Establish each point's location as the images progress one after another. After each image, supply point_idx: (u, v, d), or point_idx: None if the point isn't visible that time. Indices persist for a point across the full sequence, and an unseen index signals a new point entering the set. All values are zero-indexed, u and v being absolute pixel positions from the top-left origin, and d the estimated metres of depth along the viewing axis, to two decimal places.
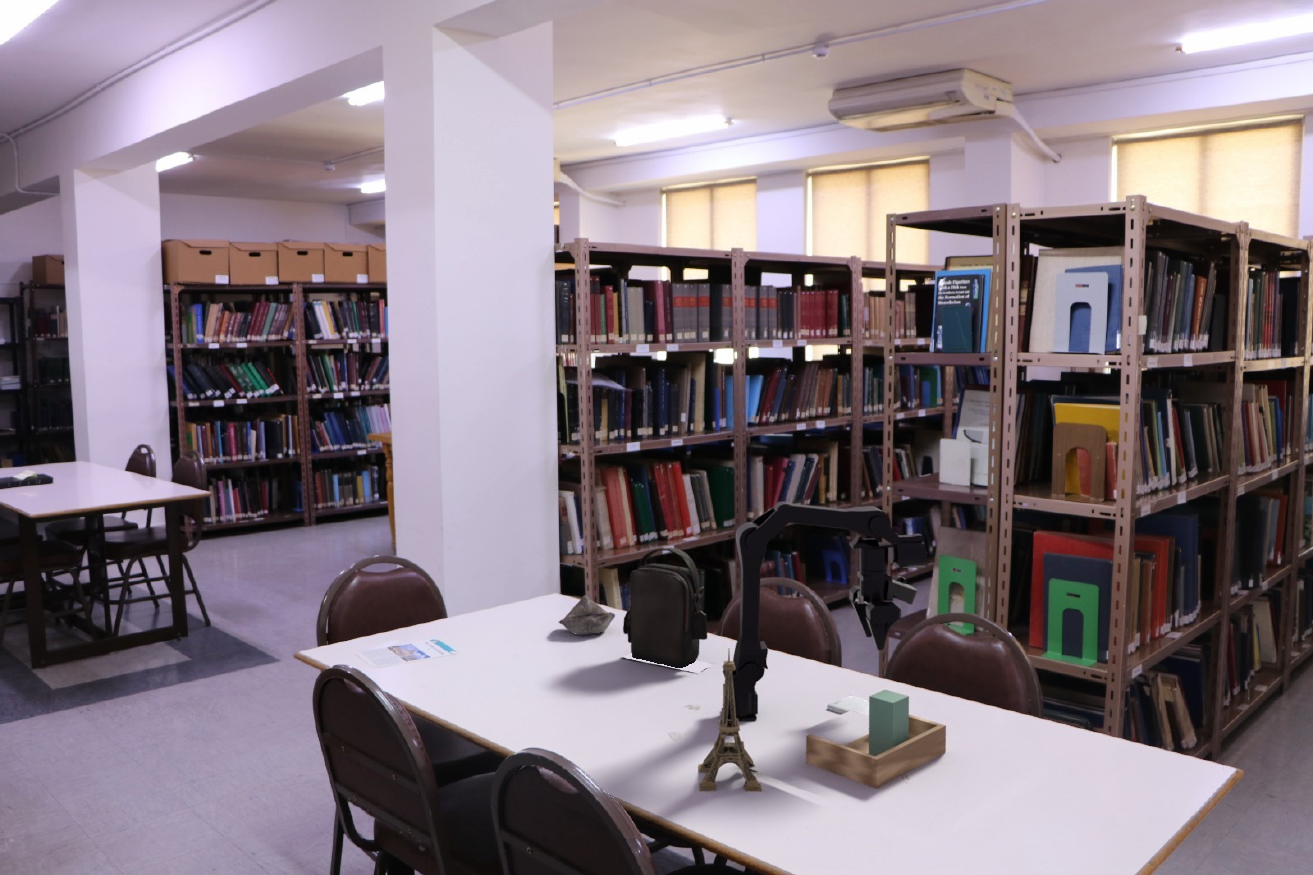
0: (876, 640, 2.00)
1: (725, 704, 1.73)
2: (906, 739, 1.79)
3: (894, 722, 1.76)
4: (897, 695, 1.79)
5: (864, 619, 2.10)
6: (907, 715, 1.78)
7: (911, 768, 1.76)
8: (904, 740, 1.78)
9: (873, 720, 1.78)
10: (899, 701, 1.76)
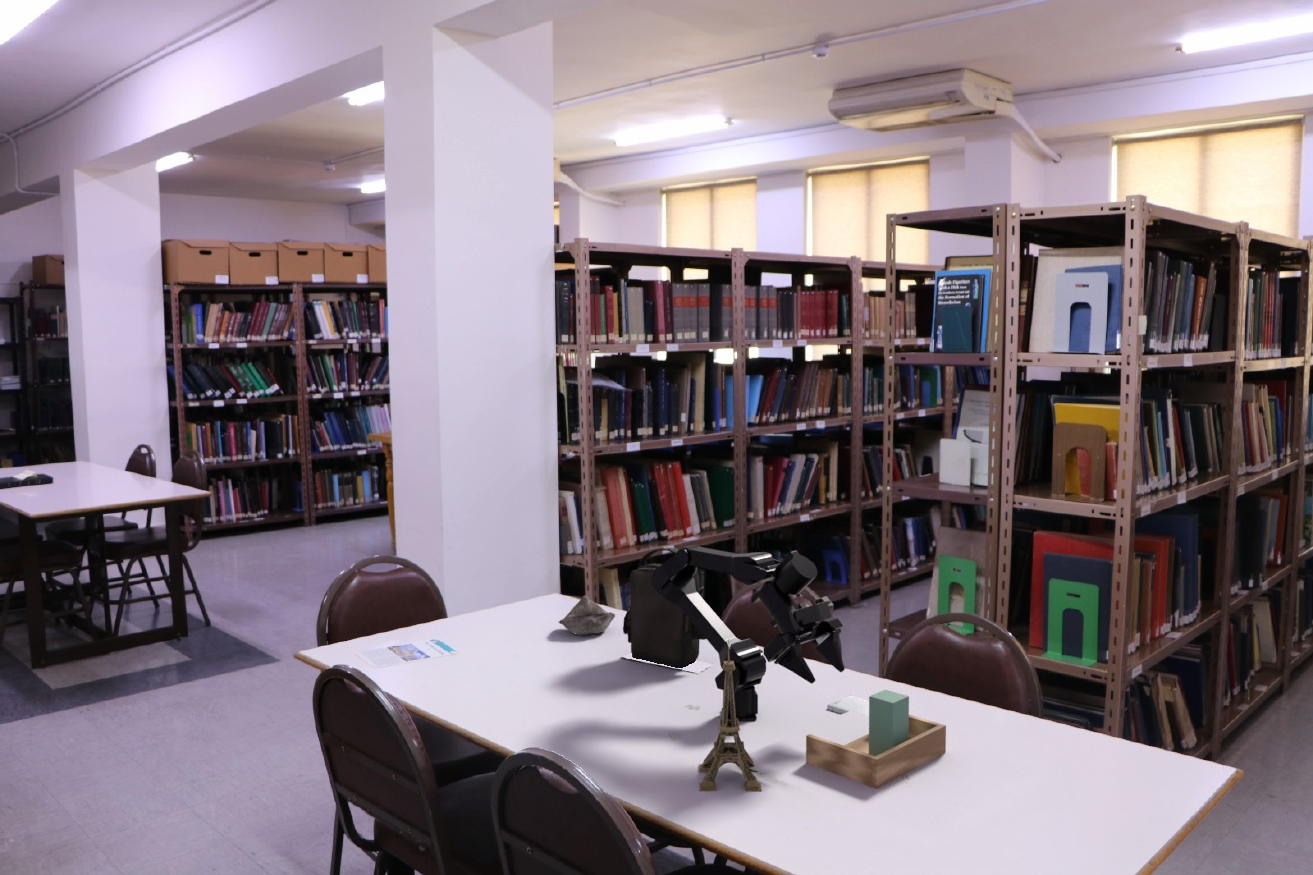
0: (801, 675, 1.86)
1: (725, 704, 1.73)
2: (906, 739, 1.79)
3: (894, 722, 1.76)
4: (897, 695, 1.79)
5: (829, 656, 1.94)
6: (907, 715, 1.78)
7: (911, 768, 1.76)
8: (904, 740, 1.78)
9: (873, 720, 1.78)
10: (899, 701, 1.76)
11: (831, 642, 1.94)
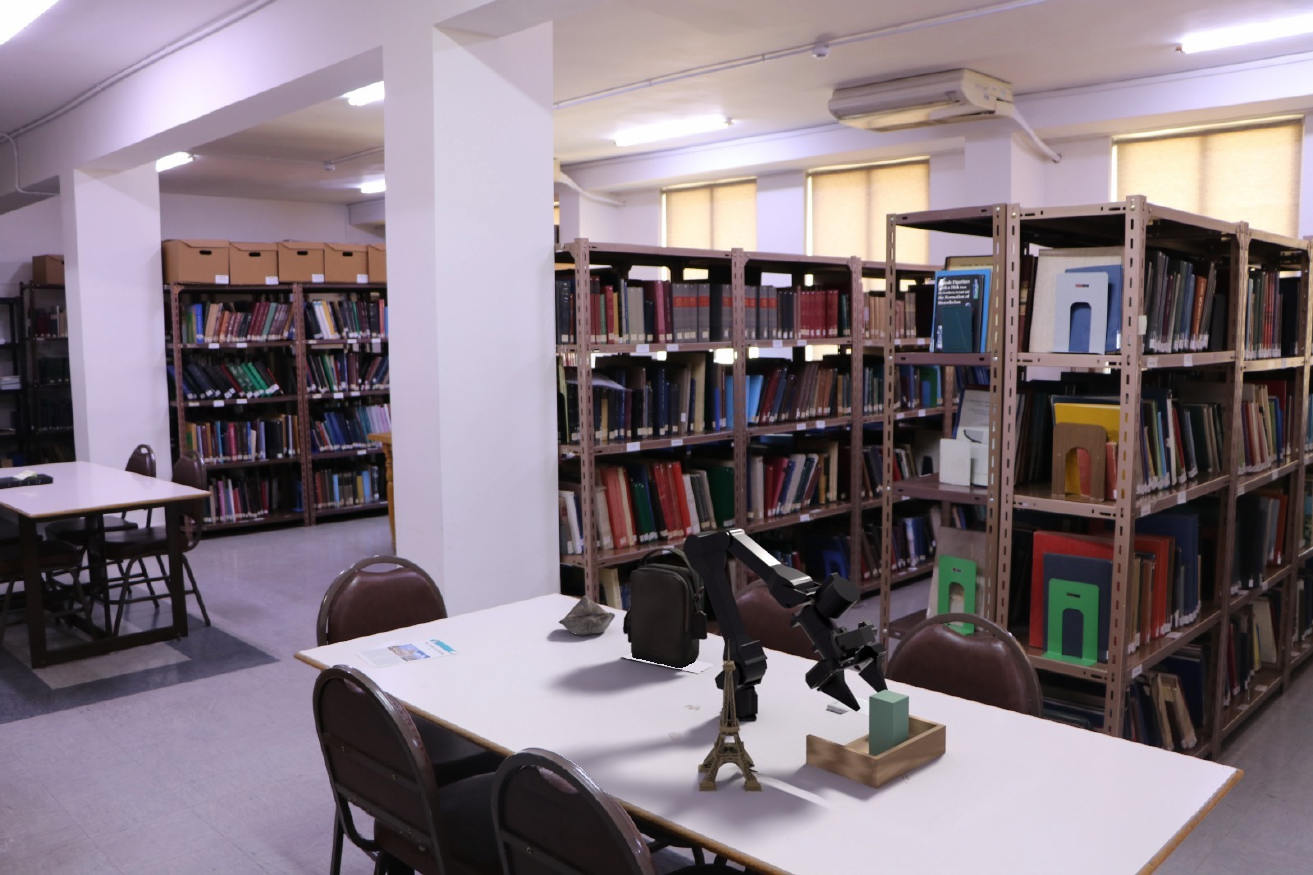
0: (845, 703, 1.79)
1: (725, 704, 1.73)
2: (906, 739, 1.79)
3: (894, 722, 1.76)
4: (897, 695, 1.79)
5: (872, 682, 1.87)
6: (907, 715, 1.78)
7: (911, 768, 1.76)
8: (904, 740, 1.78)
9: (873, 720, 1.78)
10: (899, 701, 1.76)
11: (875, 667, 1.86)
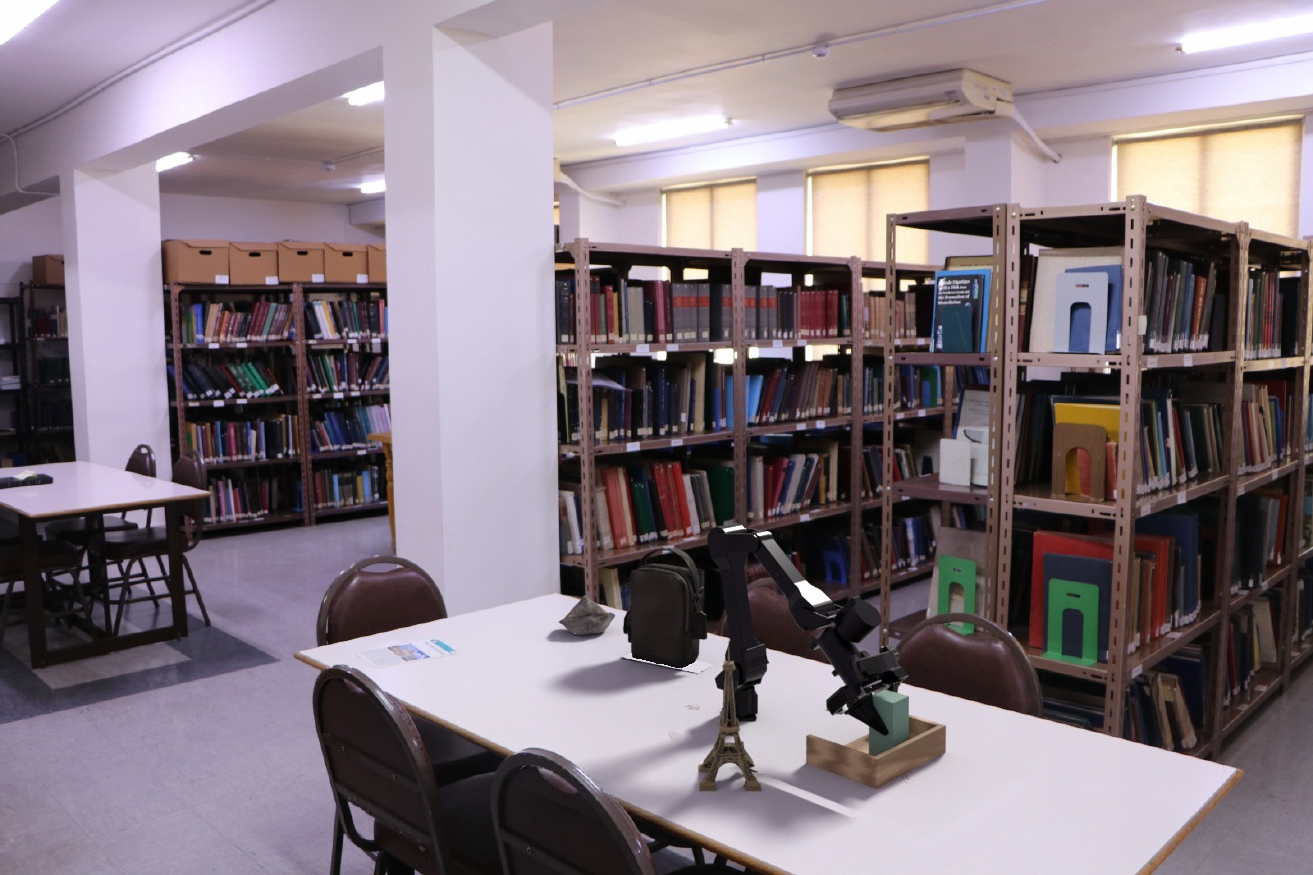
0: (873, 727, 1.77)
1: (725, 704, 1.73)
2: (906, 739, 1.79)
3: (894, 722, 1.76)
4: (897, 695, 1.79)
5: None
6: (907, 715, 1.78)
7: (911, 768, 1.76)
8: (904, 740, 1.78)
9: None
10: (899, 701, 1.76)
11: None
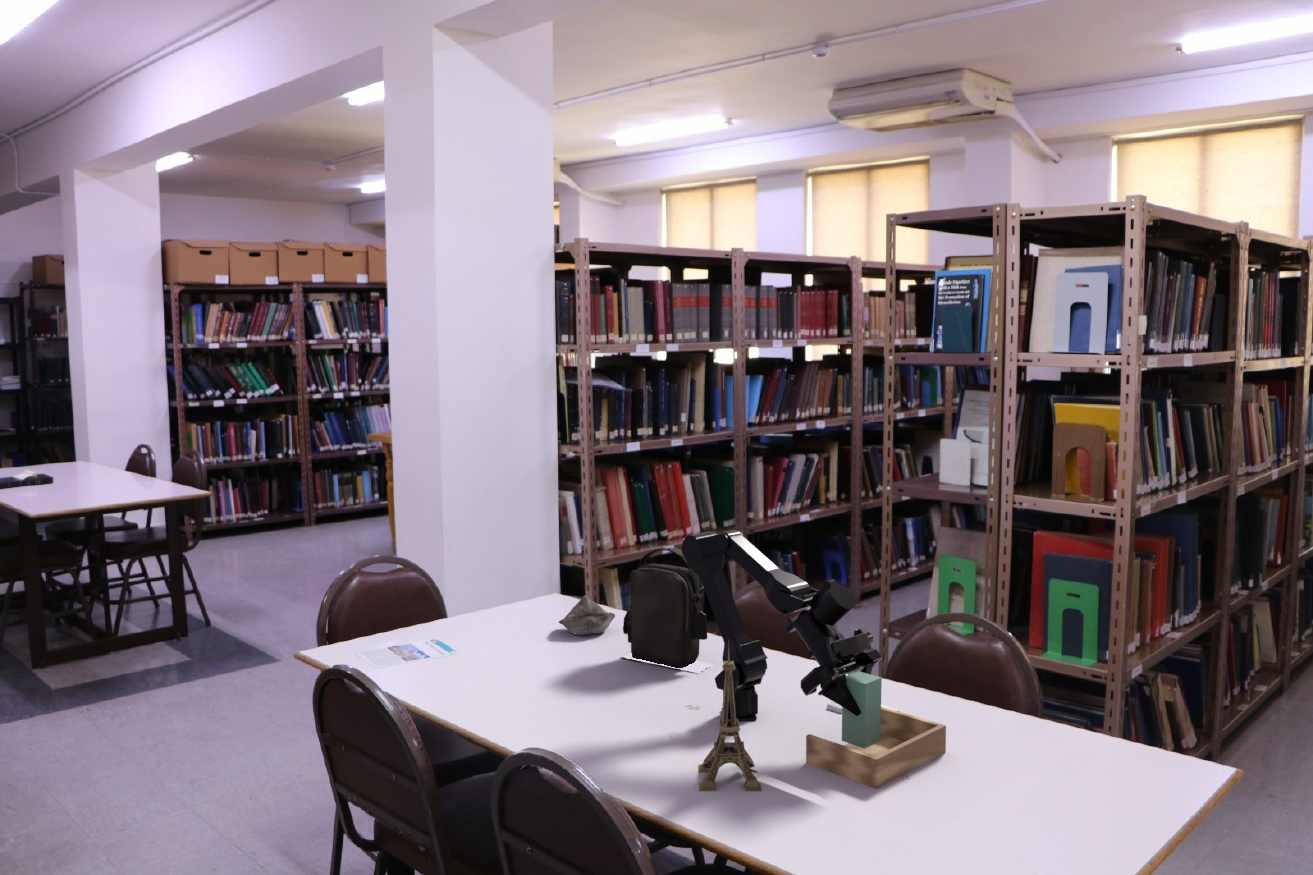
0: (846, 707, 1.81)
1: (725, 704, 1.73)
2: (878, 719, 1.83)
3: (866, 702, 1.80)
4: (870, 676, 1.83)
5: None
6: (880, 696, 1.82)
7: (911, 768, 1.76)
8: (876, 720, 1.82)
9: None
10: (872, 682, 1.80)
11: None
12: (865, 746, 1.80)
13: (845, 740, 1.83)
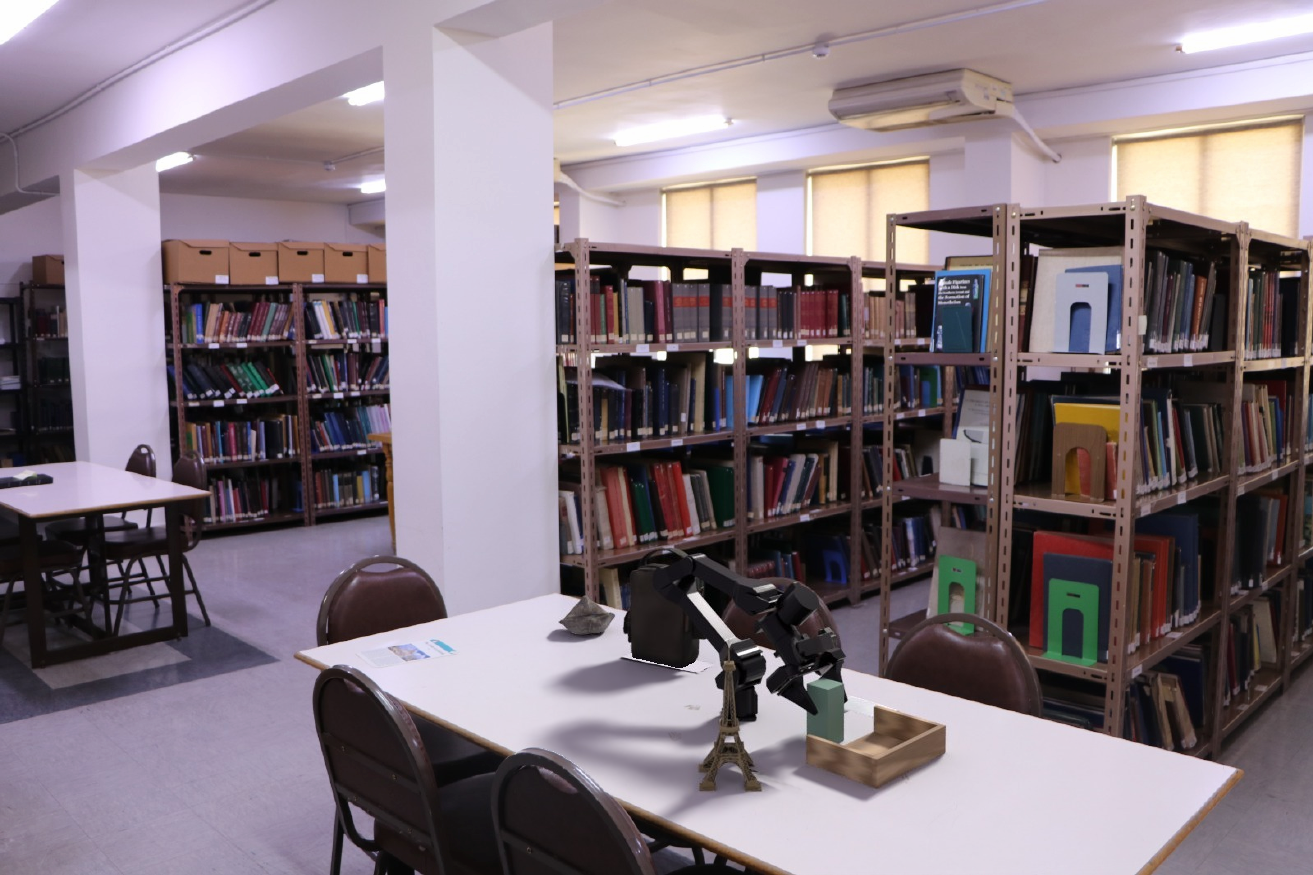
0: (803, 707, 1.86)
1: (725, 704, 1.73)
2: (841, 724, 1.89)
3: (829, 707, 1.86)
4: (833, 683, 1.89)
5: None
6: (842, 701, 1.89)
7: (911, 768, 1.76)
8: (839, 725, 1.88)
9: None
10: (834, 688, 1.87)
11: (834, 673, 1.93)
12: None
13: None
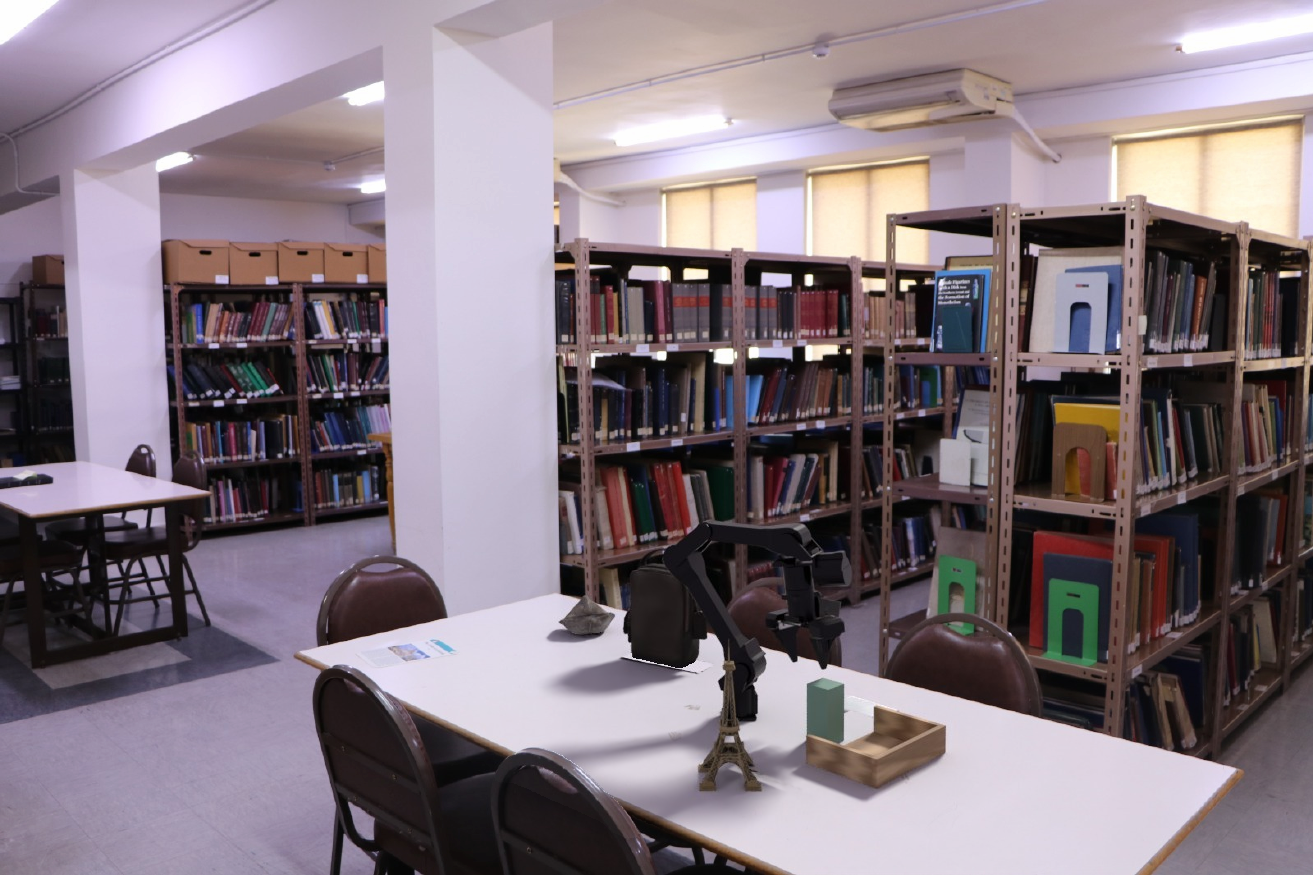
0: (821, 659, 1.92)
1: (725, 704, 1.73)
2: (842, 724, 1.89)
3: (829, 708, 1.86)
4: (833, 683, 1.89)
5: (788, 644, 2.01)
6: (842, 701, 1.89)
7: (911, 768, 1.76)
8: (839, 725, 1.88)
9: (810, 706, 1.88)
10: (834, 688, 1.87)
11: (795, 633, 2.03)
12: None
13: None
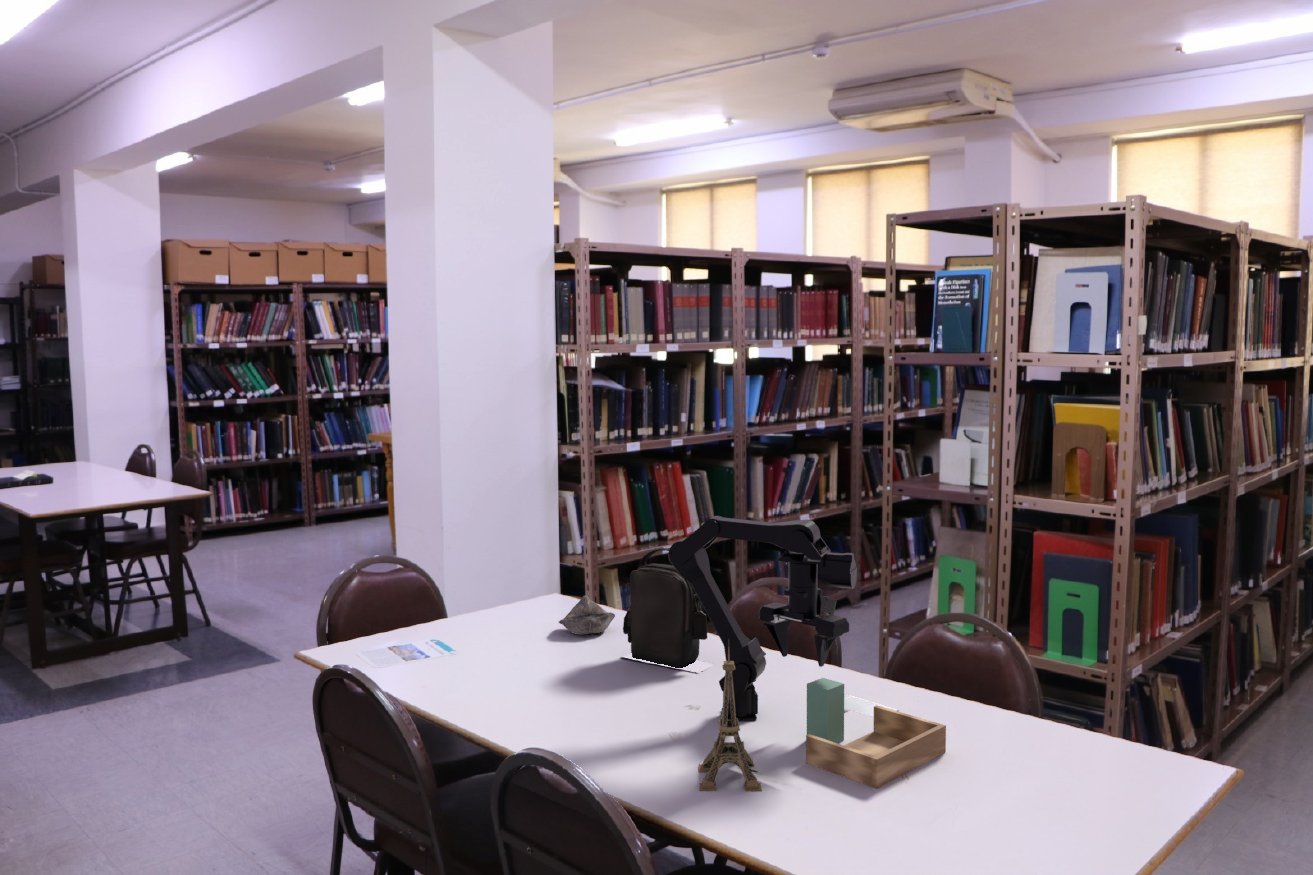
0: (821, 657, 1.94)
1: (725, 704, 1.73)
2: (842, 724, 1.89)
3: (829, 708, 1.86)
4: (833, 683, 1.89)
5: (781, 638, 2.02)
6: (842, 701, 1.89)
7: (911, 768, 1.76)
8: (839, 725, 1.88)
9: (810, 706, 1.88)
10: (834, 688, 1.87)
11: (787, 627, 2.03)
12: None
13: None
